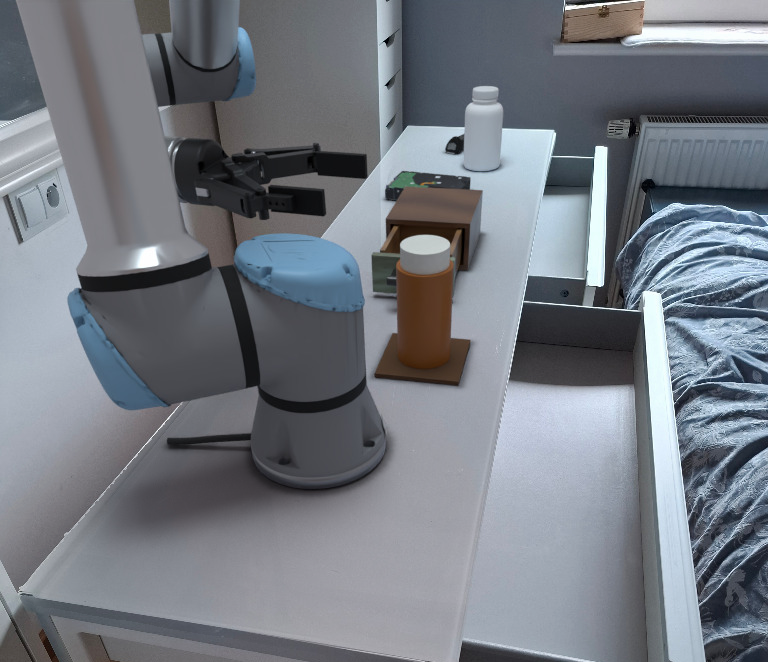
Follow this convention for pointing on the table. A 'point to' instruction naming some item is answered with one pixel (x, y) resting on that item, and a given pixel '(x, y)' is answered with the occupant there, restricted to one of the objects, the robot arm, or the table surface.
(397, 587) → the table surface
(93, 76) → the robot arm
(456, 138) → the electric trimmer
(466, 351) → the mat
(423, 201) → the cabinet
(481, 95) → the pill bottle
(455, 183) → the disk drive
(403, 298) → the pill bottle
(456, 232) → the drawer
